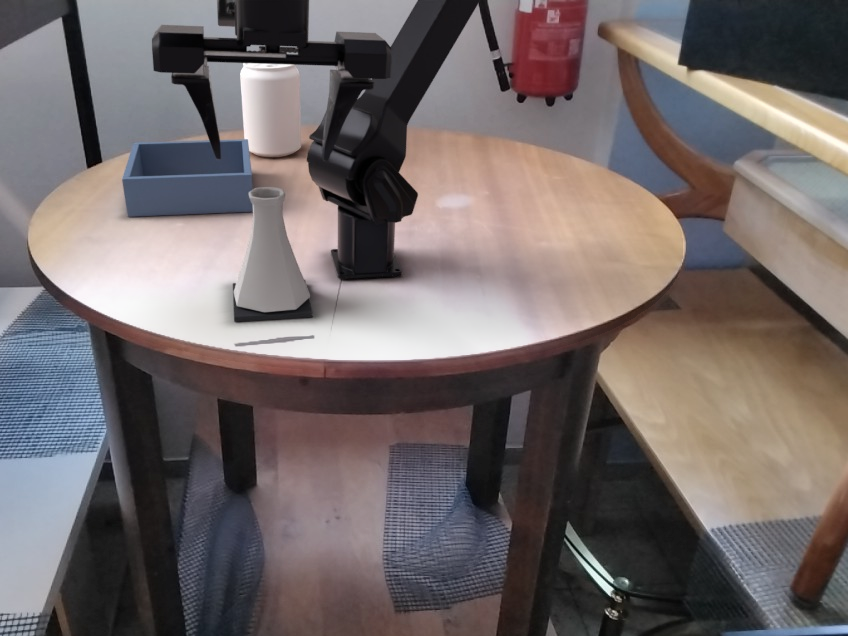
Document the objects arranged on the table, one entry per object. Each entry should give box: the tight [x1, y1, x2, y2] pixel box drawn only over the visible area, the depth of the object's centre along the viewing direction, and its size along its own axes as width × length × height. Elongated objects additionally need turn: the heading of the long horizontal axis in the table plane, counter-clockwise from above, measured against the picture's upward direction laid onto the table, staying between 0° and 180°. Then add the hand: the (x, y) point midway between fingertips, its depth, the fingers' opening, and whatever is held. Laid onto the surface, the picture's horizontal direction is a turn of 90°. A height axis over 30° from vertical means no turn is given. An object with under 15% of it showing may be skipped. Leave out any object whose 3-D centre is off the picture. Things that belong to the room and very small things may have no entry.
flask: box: [234, 186, 311, 312], centre depth 71 cm, size 7×7×10 cm
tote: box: [121, 138, 254, 218], centre depth 97 cm, size 15×15×4 cm
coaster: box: [232, 279, 313, 323], centre depth 74 cm, size 7×7×1 cm
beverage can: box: [239, 63, 302, 158], centre depth 111 cm, size 8×8×12 cm
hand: (272, 159), depth 68 cm, fingers open, 9 cm apart
